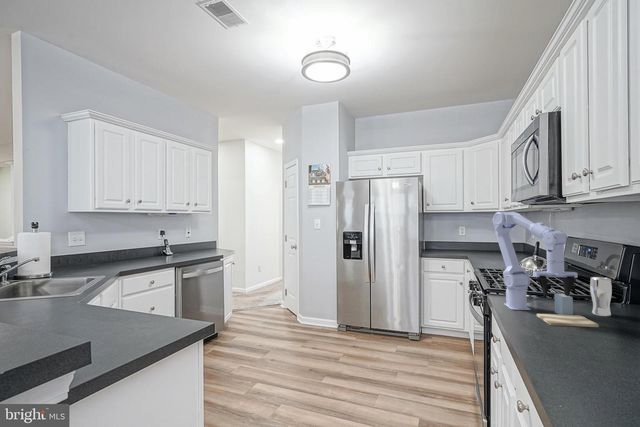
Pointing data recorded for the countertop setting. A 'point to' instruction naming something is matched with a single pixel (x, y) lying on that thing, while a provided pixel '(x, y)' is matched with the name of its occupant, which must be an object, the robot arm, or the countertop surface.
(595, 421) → the countertop surface
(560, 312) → the slab
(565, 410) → the countertop surface
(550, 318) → the board
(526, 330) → the countertop surface
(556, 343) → the countertop surface
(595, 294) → the beer glass
